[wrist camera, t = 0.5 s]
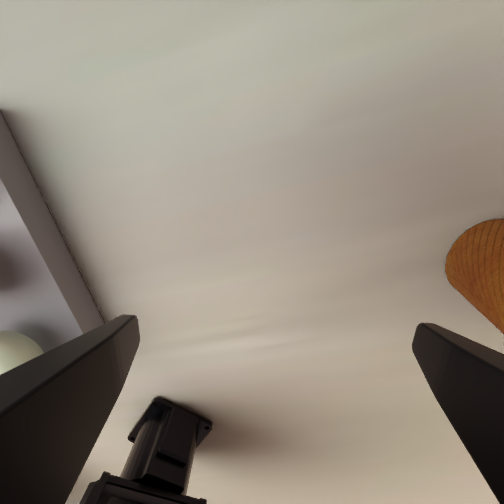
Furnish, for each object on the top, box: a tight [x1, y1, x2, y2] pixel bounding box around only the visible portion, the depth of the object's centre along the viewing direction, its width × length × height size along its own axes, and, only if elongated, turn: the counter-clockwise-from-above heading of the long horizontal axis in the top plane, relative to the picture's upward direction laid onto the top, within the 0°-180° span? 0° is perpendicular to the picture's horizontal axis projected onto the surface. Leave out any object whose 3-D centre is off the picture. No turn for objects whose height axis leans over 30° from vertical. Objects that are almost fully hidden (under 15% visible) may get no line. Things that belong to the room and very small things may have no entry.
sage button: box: [0, 331, 44, 375], centre depth 19 cm, size 4×4×2 cm
